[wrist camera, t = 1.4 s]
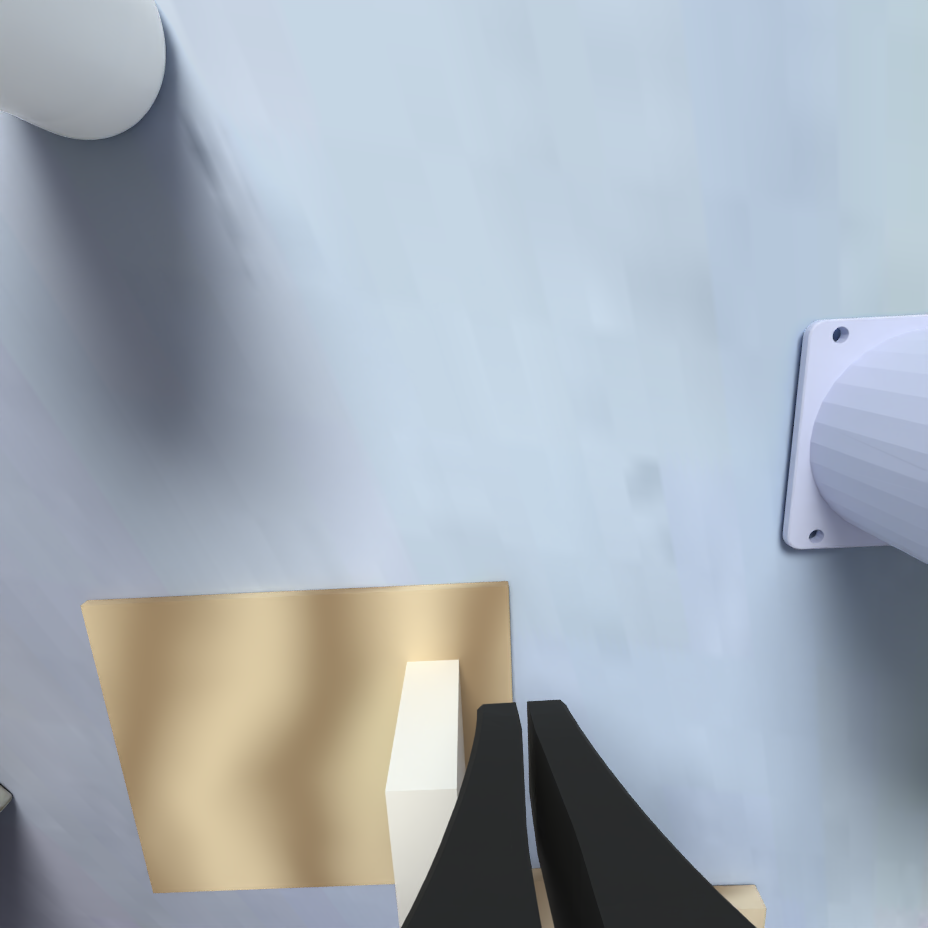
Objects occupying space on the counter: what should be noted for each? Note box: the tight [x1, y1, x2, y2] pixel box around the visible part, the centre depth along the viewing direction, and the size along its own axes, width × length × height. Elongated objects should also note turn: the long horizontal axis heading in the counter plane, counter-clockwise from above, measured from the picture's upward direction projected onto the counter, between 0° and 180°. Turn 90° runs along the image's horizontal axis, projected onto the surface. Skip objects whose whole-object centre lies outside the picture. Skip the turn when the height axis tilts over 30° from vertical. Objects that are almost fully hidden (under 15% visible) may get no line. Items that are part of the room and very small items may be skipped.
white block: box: [385, 660, 466, 928], centre depth 19 cm, size 2×8×6 cm, turn 3°
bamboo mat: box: [81, 581, 512, 893], centre depth 22 cm, size 16×14×1 cm
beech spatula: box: [532, 868, 766, 928], centre depth 24 cm, size 13×4×1 cm, turn 93°
